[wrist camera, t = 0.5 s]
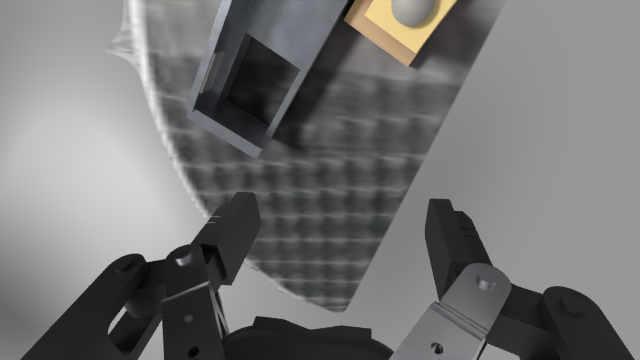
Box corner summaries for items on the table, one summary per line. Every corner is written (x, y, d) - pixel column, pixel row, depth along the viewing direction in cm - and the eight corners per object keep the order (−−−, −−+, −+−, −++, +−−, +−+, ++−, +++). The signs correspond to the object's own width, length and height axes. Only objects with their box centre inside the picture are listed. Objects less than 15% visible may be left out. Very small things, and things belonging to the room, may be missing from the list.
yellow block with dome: (398, -42, 25) (409, -60, 19) (442, -7, 26) (467, -13, 19) (364, 14, 28) (364, 15, 21) (405, 44, 28) (417, 54, 22)
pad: (394, -68, 25) (396, -72, 24) (462, -12, 27) (467, -13, 25) (344, 19, 29) (343, 20, 28) (405, 64, 31) (407, 66, 29)
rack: (306, -140, 24) (286, -190, 18) (390, -71, 25) (397, -97, 19) (211, 102, 36) (181, 120, 30) (271, 139, 37) (253, 163, 32)
